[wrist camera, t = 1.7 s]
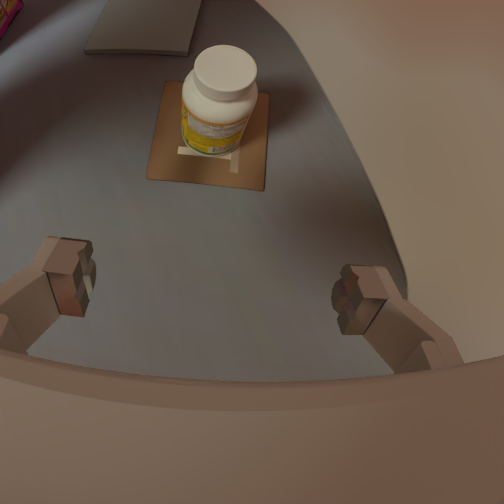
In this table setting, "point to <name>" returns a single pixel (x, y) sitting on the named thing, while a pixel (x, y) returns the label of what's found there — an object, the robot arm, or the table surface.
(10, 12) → the candy bar box
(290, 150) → the table surface
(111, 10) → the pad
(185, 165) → the tile
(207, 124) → the supplement bottle
